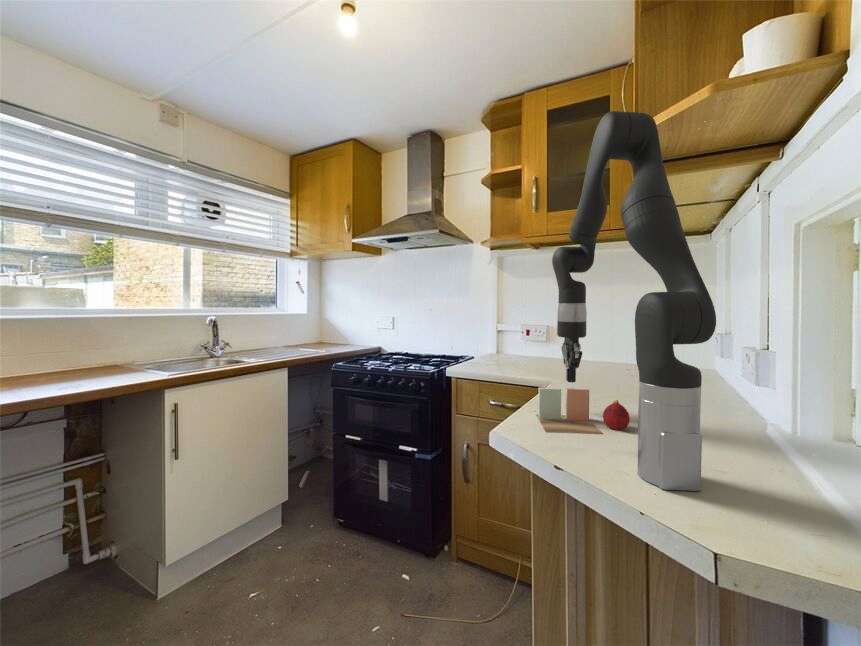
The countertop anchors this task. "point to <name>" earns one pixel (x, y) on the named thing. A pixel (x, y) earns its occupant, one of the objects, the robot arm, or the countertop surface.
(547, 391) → the sage tile
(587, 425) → the walnut board
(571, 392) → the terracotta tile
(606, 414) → the onion
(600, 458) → the countertop surface
